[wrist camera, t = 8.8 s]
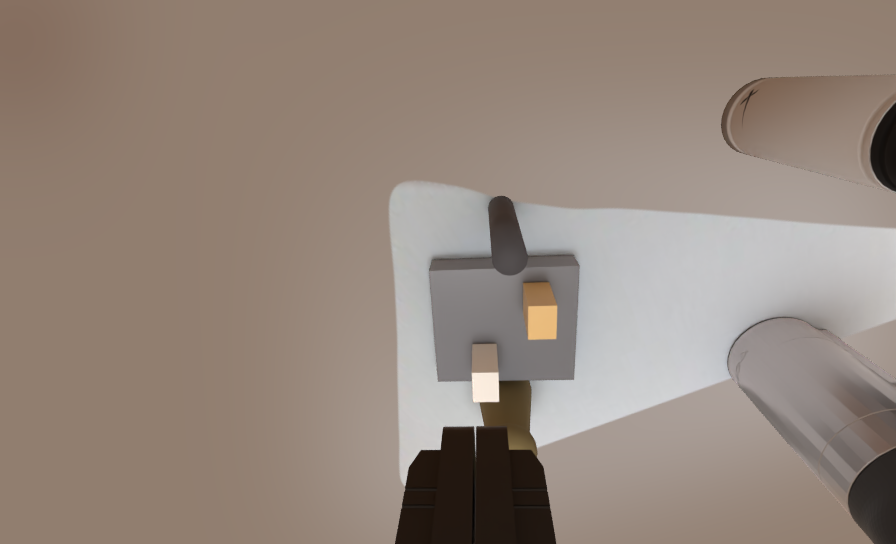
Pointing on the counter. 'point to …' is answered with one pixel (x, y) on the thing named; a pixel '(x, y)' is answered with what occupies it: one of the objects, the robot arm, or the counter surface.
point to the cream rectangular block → (485, 373)
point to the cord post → (506, 237)
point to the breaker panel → (502, 317)
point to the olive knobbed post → (512, 413)
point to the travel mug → (819, 125)
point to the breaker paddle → (539, 311)
